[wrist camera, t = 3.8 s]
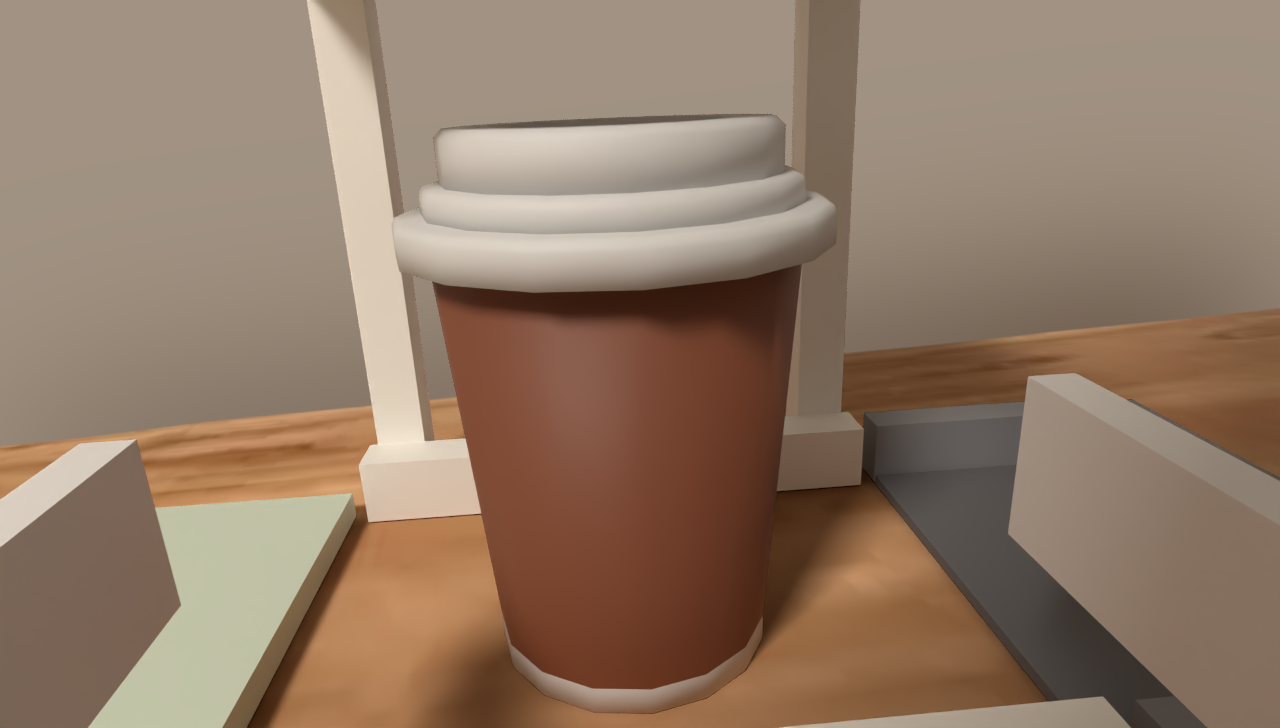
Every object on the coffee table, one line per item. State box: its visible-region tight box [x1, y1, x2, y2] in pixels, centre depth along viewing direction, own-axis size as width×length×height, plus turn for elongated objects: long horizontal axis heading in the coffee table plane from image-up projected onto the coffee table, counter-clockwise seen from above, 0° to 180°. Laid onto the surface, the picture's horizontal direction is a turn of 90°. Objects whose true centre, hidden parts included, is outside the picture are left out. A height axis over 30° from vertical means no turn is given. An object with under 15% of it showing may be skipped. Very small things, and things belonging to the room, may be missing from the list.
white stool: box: [307, 0, 1131, 728], centre depth 18 cm, size 16×16×18 cm
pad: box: [88, 493, 357, 728], centre depth 19 cm, size 12×13×1 cm
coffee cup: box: [391, 114, 837, 714], centre depth 18 cm, size 9×9×12 cm
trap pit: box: [862, 399, 1280, 728], centre depth 20 cm, size 9×15×2 cm, turn 5°
